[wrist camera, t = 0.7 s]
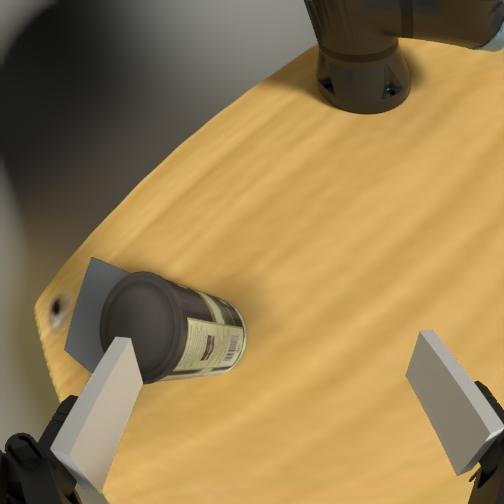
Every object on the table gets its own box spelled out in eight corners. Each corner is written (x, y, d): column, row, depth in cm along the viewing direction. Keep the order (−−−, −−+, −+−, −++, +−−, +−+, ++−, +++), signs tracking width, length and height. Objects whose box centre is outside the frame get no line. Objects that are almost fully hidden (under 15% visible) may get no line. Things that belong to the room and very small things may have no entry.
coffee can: (173, 304, 41) (97, 282, 29) (242, 290, 38) (178, 259, 26) (180, 378, 38) (101, 383, 25) (252, 372, 35) (188, 383, 22)
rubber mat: (95, 258, 50) (91, 256, 49) (166, 287, 42) (162, 286, 41) (68, 350, 47) (64, 349, 46) (132, 399, 39) (127, 400, 38)
